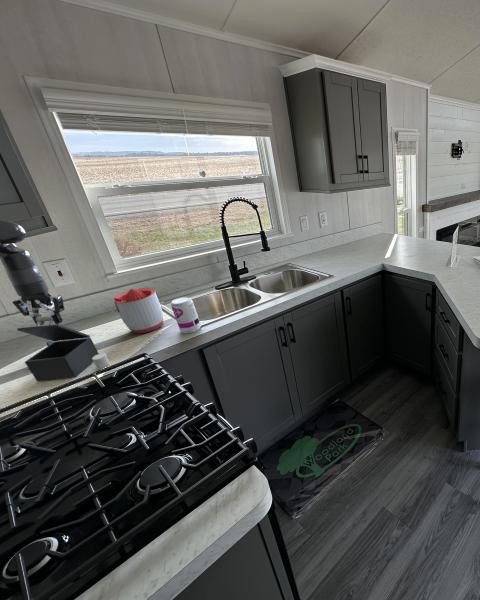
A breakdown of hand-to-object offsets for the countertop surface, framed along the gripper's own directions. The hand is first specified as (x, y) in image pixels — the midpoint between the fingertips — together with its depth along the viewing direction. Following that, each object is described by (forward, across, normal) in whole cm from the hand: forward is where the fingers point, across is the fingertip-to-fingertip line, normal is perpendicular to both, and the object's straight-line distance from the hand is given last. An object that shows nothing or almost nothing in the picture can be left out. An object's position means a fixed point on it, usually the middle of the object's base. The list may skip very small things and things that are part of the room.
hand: (50, 323), depth 119 cm
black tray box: (+19, 0, -1) cm, 19 cm away
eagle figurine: (+16, -10, +9) cm, 21 cm away
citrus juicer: (+18, +13, +27) cm, 35 cm away
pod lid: (+4, 0, 0) cm, 4 cm away
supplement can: (+18, +35, +21) cm, 45 cm away
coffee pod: (+19, +13, -3) cm, 23 cm away
